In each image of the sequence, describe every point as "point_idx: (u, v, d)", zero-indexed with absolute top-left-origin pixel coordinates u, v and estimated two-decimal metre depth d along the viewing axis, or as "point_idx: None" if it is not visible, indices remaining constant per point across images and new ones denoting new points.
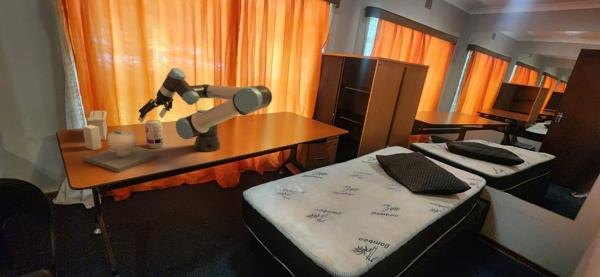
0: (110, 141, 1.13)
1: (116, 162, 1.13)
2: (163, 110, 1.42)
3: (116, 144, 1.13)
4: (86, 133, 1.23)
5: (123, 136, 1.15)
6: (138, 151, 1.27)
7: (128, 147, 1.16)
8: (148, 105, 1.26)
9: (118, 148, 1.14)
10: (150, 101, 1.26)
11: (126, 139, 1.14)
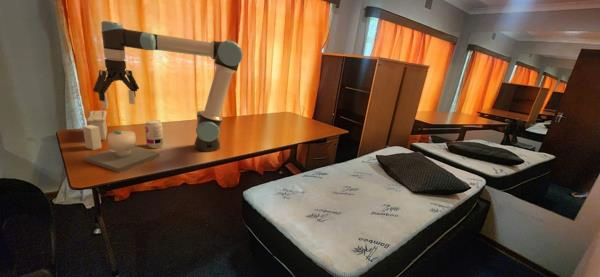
0: (110, 141, 1.13)
1: (116, 162, 1.13)
2: (130, 93, 1.18)
3: (116, 144, 1.13)
4: (86, 133, 1.23)
5: (123, 136, 1.15)
6: (138, 151, 1.27)
7: (128, 147, 1.16)
8: (100, 78, 1.02)
9: (118, 148, 1.14)
10: (100, 73, 1.02)
11: (126, 139, 1.14)
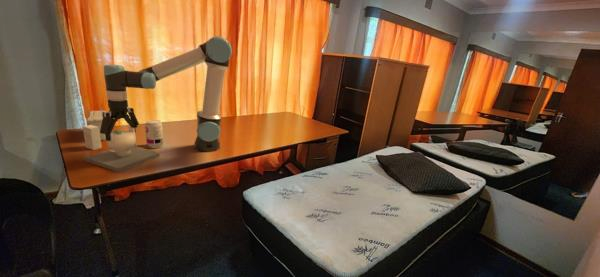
0: None
1: (116, 162, 1.13)
2: (130, 130, 1.22)
3: (116, 144, 1.13)
4: (86, 133, 1.23)
5: (123, 136, 1.15)
6: (138, 151, 1.27)
7: (128, 147, 1.16)
8: (105, 120, 1.07)
9: (118, 148, 1.14)
10: (104, 115, 1.07)
11: (126, 139, 1.14)
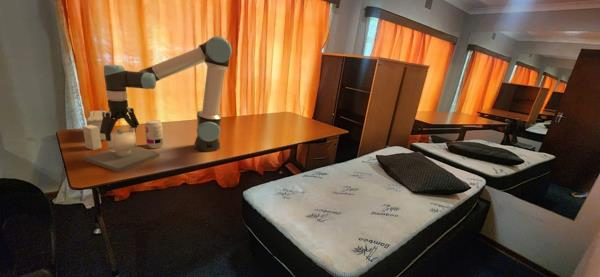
0: None
1: (116, 162, 1.13)
2: (130, 130, 1.22)
3: None
4: (86, 133, 1.23)
5: (120, 136, 1.14)
6: (138, 151, 1.27)
7: (124, 148, 1.15)
8: (105, 120, 1.07)
9: (114, 148, 1.13)
10: (104, 115, 1.07)
11: (122, 139, 1.13)
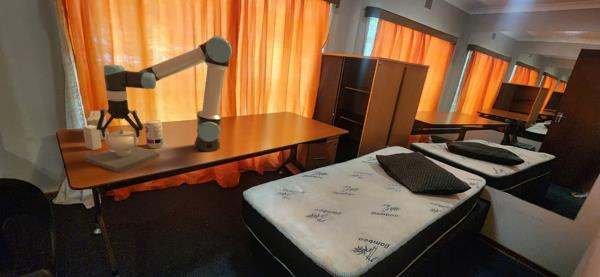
0: None
1: (116, 162, 1.13)
2: None
3: (110, 143, 1.13)
4: (86, 133, 1.23)
5: (117, 136, 1.14)
6: (138, 151, 1.27)
7: (119, 148, 1.14)
8: None
9: (111, 147, 1.14)
10: None
11: (118, 139, 1.12)
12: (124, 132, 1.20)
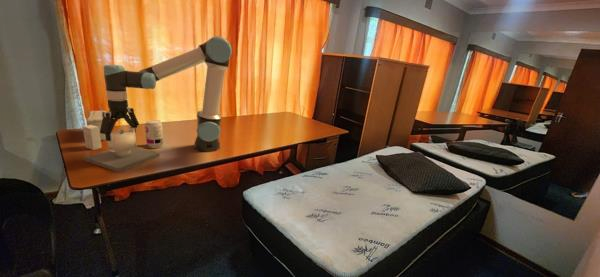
0: None
1: (116, 162, 1.13)
2: (130, 130, 1.22)
3: None
4: (86, 133, 1.23)
5: (117, 136, 1.14)
6: (138, 151, 1.27)
7: (119, 148, 1.14)
8: (105, 120, 1.07)
9: (110, 147, 1.14)
10: (104, 115, 1.07)
11: (117, 139, 1.12)
12: (124, 132, 1.20)
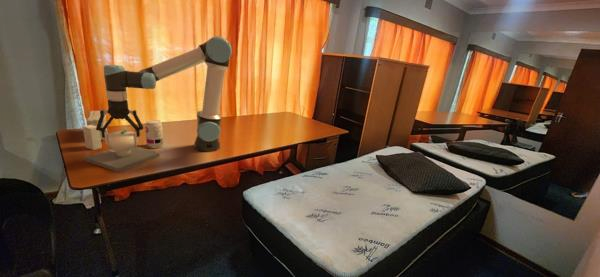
0: None
1: (116, 162, 1.13)
2: (134, 132, 1.19)
3: (108, 142, 1.14)
4: (86, 133, 1.23)
5: (114, 136, 1.14)
6: (138, 151, 1.27)
7: (114, 148, 1.13)
8: None
9: None
10: None
11: (112, 139, 1.12)
12: (127, 132, 1.20)
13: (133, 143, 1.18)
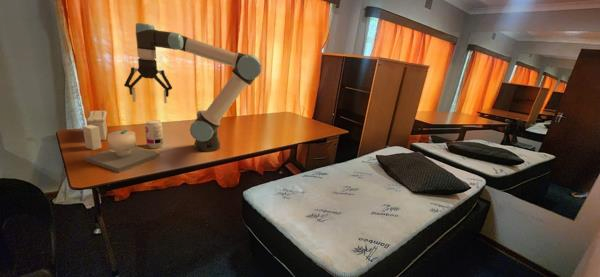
0: None
1: (116, 162, 1.13)
2: (164, 92, 1.22)
3: (108, 142, 1.14)
4: (86, 133, 1.23)
5: (114, 136, 1.14)
6: (138, 151, 1.27)
7: (114, 148, 1.13)
8: None
9: None
10: None
11: (112, 139, 1.12)
12: (127, 132, 1.20)
13: (133, 143, 1.18)
